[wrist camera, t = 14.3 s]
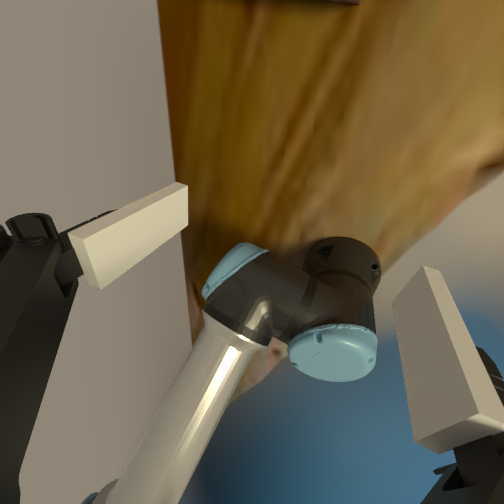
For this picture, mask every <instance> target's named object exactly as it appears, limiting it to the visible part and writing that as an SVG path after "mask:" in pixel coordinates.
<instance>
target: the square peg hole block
mask: <svg viewBox="0 0 504 504" xmlns="http://www.w3.org/2000/svg"><path fill="white" fill-rule="evenodd" d="M329 1H337V2H344V3H352V4H359V5H360V2H361V0H329Z"/></svg>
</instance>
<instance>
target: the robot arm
mask: <svg viewBox="0 0 504 504" xmlns="http://www.w3.org/2000/svg"><path fill="white" fill-rule="evenodd" d="M5 223H6V225H7V227H8V229H9V230H10V232H11V234H12V235H13V236H10V235H8V234H7V232H6V230H5V229H4V227H3V226H1V225H0V504H20V487H19V473H20V468H21V465H22V462H23V459H24V455H25V452H26V449H27V446H28V443H29V440H30V437H31V433H32V430H33V427H34V424H35V421H36V418H37V414H38V411H39V408H40V405H41V402H42V398H43V395H44V392H45V389H46V386H47V383H48V379H49V376H50V373H51V370H52V367H53V364H54V361H55V357H56V354H57V351H58V348H59V345H60V342H61V339H62V335H63V332H64V329H65V326H66V323H67V320H68V316H69V313H70V310H71V307H72V303H73V301H74V297H75V294H76V291H77V288H78V279H77V278H78V277H80V276H81V275H83V274H84V276H85V279H86V281H87V284H89V285H91V286H93V287H95V288H97V289H99V290H102V289H103V288H105V287H106V286H107V285H108V284H110V283H111V282H113V281H114V280H115V279H117V278H118V277H119V276H121V275H122V274H123V273H125V272H126V271H127V270H129V269H130V268H131V267H133V266H134V265H135V264H137V263H138V262H139V261H141V260H142V259H143V258H145V257H146V256H147V255H149V254H150V253H151V252H153V251H154V250H155V249H157V248H158V247H159V246H161V245H162V244H163V243H165V242H166V241H167V240H169V239H170V238H171V237H173V236H174V235H175V234H177V233H178V232H180V231H181V230H182V229H184V228H185V227H186V226H188V186H187V185H184V184H181V183H178V182H176V183H174V184H172V185H170V186H167V187H165V188H163V189H161V190H159V191H156V192H154V193H152V194H150V195H148V196H146V197H144V198H141V199H139V200H137V201H135V202H133V203H131V204H128V205H126V206H124V207H122V208H120V209H116V210H112V211H108V212H105V213H103V214H101V215H99V216H98V217H94V218H92V219H90V220H89V221H85V222H83V223H81V224H79V225H76V226H74V227H72V228H70V229H68V230H66V231H63V232H61V233H59V234H58V232H57V230H56V227H55V225H54V223H53V220H52V218H51V217H50V216H49V215H47V214H43V213H26V214H22V215H17V216H15V217H13V218H10V219H9V220H7V221H6V222H5ZM380 279H381V266H380V261H379V259H378V257H377V255H376V253H375V252H374V251H373V250H372V249H371V248H370V247H369V246H367V245H366V244H364V243H362V242H360V241H358V240H355V239H352V238H347V237H333V238H328V239H325V240H322V241H320V242H318V243H317V244H315V245H314V246H313V247H312V248H311V249H310V250H309V251H308V253H307V255H306V258H305V261H304V264H303V270H302V269H300V268H298V267H297V266H295V265H293V264H291V263H289V262H287V261H285V260H283V259H281V258H280V257H278V256H276V255H274V254H272V253H270V252H269V250H267V249H262V248H260V247H258V246H256V245H254V244H251V243H248V242H243V243H240V244H238V245H236V246H235V247H233V248H232V249H231V250H230V251H229V252H228V253H227V254H226V255H225V256H224V257H223V258H222V260H221V261H220V262H219V263H218V264H217V266H216V267H215V268H214V270H213V271H212V273H211V274H210V276H209V277H208V279H207V282H206V284H205V285H204V287H203V289H202V296H203V297H204V299H205V300H208V302H207V304H206V305H205V307H204V309H203V311H202V313H203V317H204V320H205V327H204V328H203V330H202V332H201V334H200V336H199V337H198V339H197V341H196V343H195V344H194V346H193V348H192V350H191V352H190V353H189V355H188V357H187V359H186V361H185V363H184V364H183V366H182V368H181V369H180V371H179V373H178V375H177V377H176V378H175V380H174V382H173V384H172V385H171V387H170V389H169V391H168V393H167V394H166V396H165V398H164V400H163V401H162V403H161V405H160V407H159V409H158V410H157V412H156V414H155V416H154V418H153V419H152V421H151V423H150V425H149V426H148V428H147V430H146V432H145V434H144V435H143V437H142V439H141V441H140V442H139V444H138V446H137V448H136V450H135V451H134V453H133V455H132V457H131V459H130V460H129V462H128V464H127V466H126V467H125V469H124V471H123V473H122V474H121V477H120V478H119V479H116V480H114V481H112V482H110V483H109V484H107V485H106V486H105V487H104V488H103V489H102V490H101V491H100V492H99V493H97V492H95V493H92V494H91V495H89V496H88V497H87V498H86V499H85V500H84V501H83V502H82V503H81V504H178V502H179V500H180V498H181V496H182V494H183V492H184V490H185V488H186V486H187V484H188V482H189V480H190V478H191V476H192V474H193V472H194V470H195V468H196V466H197V464H198V462H199V460H200V458H201V456H202V454H203V452H204V450H205V448H206V446H207V444H208V442H209V440H210V438H211V436H212V434H213V432H214V430H215V428H216V426H217V424H218V422H219V420H220V418H221V416H222V414H223V412H224V410H225V408H226V406H227V404H228V402H229V400H230V398H231V396H232V394H233V392H234V390H235V388H236V386H237V384H238V382H239V380H240V378H241V376H242V374H243V372H244V370H245V368H246V366H247V364H248V362H249V360H250V358H251V356H252V354H253V353H255V352H256V351H259V350H262V349H266V348H267V347H268V345H269V343H270V341H271V339H272V337H275V338H277V339H279V340H280V341H282V342H284V343H286V344H287V345H288V348H287V351H288V356H289V359H290V361H291V362H293V365H294V366H295V367H296V368H297V369H298V370H300V371H301V372H303V373H305V374H307V375H309V376H311V377H315V378H317V379H321V380H326V381H334V382H337V381H340V382H342V381H343V382H345V381H352V380H356V379H359V378H361V377H363V376H365V375H367V374H368V373H369V372H370V371H371V370H372V369H373V367H374V365H375V362H376V346H377V337H376V329H375V318H374V307H373V294H374V293H375V291H376V289H377V287H378V285H379V282H380ZM392 307H393V313H394V319H395V326H396V332H397V337H398V344H399V351H400V356H401V363H402V369H403V375H404V381H405V387H406V393H407V400H408V406H409V412H410V418H411V424H412V430H413V437H414V442H416V443H418V444H420V445H422V446H424V447H426V448H428V449H430V450H432V451H434V452H436V453H438V454H441V453H443V452H447V451H450V450H452V449H453V450H454V454H455V458H456V461H457V463H453V464H450V465H447V466H443V467H440V468H437V469H435V470H433V472H434V473H435V474H436V475H438V474H442V473H443V475H442V476H441V477H440V479H439V480H438V481H437V483H436V484H435V485H434V487H433V488H432V489H431V491H430V492H429V493H428V494H427V496H426V497H425V498H424V500H423V501H422V502H421V503H420V504H504V382H503V381H502V380H503V378H502V376H501V374H500V372H499V370H498V368H497V366H496V364H495V363H494V362H493V360H491V358H490V357H489V356H488V355H487V353H486V352H485V351H484V350H483V349H482V348H479V347H476V346H475V345H474V343H473V341H472V339H471V337H470V335H469V332H468V330H467V328H466V326H465V324H464V322H463V320H462V318H461V315H460V313H459V311H458V309H457V307H456V305H455V303H454V301H453V298H452V297H451V294H450V292H449V290H448V288H447V286H446V283H445V281H444V279H443V277H442V275H441V273H440V271H438V270H435V269H432V268H429V267H426V266H422V267H421V268H420V269H419V270H418V272H417V273H416V274H415V275H414V276H413V277H412V279H411V280H410V281H409V282H408V283H407V284H406V286H405V287H404V288H403V289H402V290H401V292H400V293H399V294H398V295H397V296H396V298H395V299H394V300H393V301H392Z"/></svg>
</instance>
